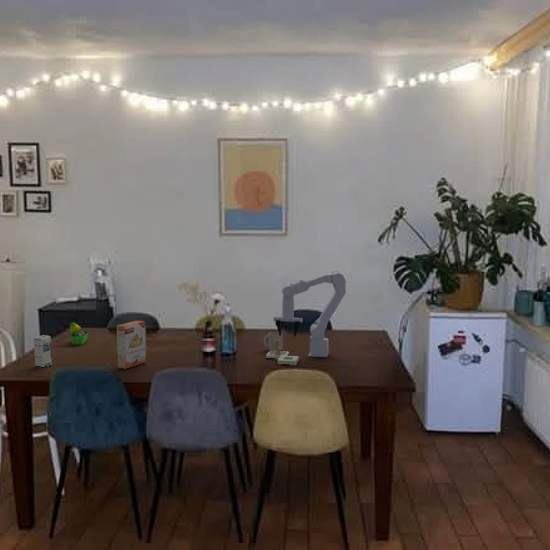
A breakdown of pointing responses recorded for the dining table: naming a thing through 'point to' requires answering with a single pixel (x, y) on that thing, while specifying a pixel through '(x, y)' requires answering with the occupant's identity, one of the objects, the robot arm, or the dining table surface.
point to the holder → (288, 360)
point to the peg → (277, 347)
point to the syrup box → (43, 350)
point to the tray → (272, 355)
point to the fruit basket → (78, 334)
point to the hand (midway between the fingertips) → (287, 335)
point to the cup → (272, 340)
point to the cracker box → (131, 344)
